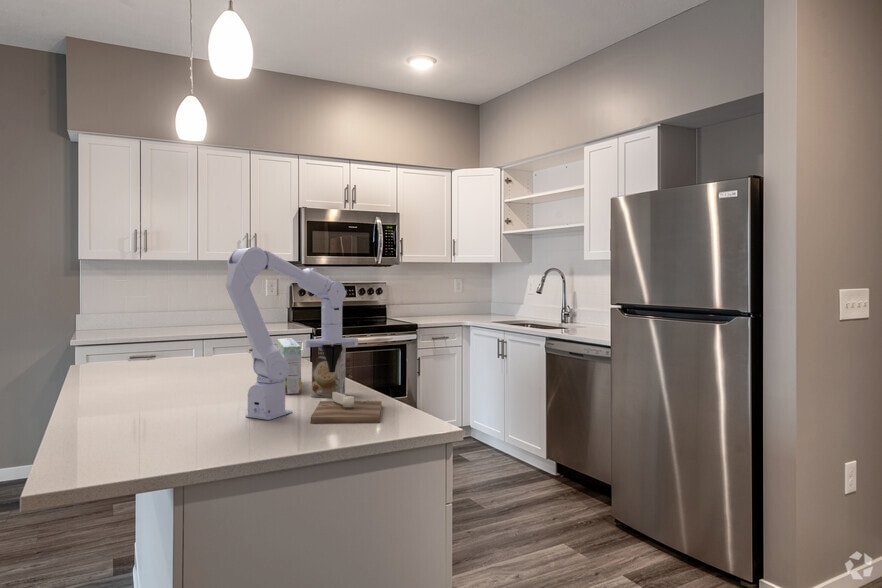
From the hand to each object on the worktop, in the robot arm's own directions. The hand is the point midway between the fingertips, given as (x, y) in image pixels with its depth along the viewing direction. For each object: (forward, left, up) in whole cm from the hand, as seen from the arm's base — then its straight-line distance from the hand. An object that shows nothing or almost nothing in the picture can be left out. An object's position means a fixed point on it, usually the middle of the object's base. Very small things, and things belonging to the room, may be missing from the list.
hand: (331, 371), depth 166 cm
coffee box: (+10, +8, -10) cm, 16 cm away
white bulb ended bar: (-5, -7, -7) cm, 11 cm away
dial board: (-7, -10, -9) cm, 15 cm away
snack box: (+14, +26, -10) cm, 31 cm away
